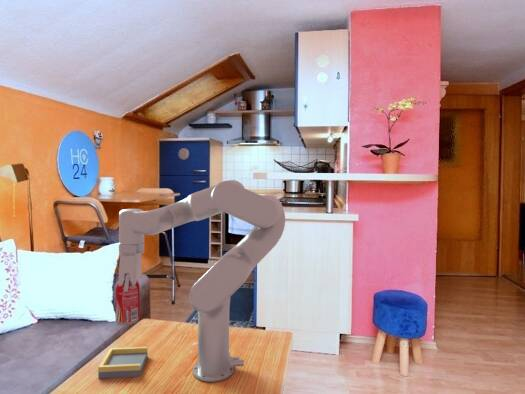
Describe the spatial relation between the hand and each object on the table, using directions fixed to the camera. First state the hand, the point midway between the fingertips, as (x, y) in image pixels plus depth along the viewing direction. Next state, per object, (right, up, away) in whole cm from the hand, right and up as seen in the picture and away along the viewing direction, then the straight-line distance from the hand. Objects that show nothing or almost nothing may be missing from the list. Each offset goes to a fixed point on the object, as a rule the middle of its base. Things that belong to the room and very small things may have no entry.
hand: (131, 305), depth 119 cm
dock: (-2, -19, 0) cm, 20 cm away
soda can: (-1, -5, -2) cm, 5 cm away
